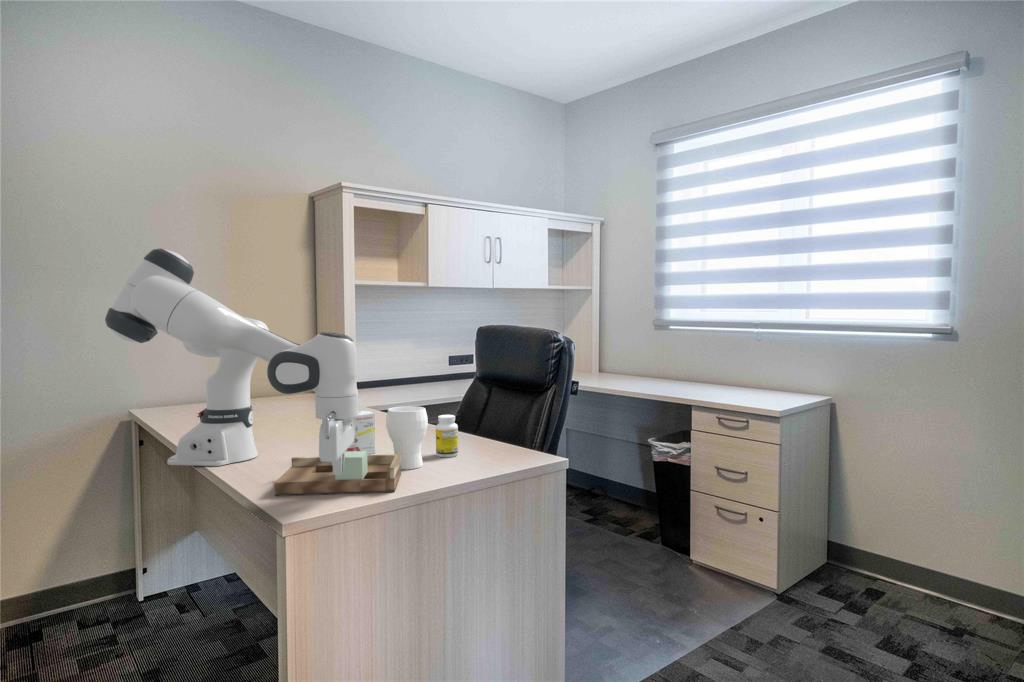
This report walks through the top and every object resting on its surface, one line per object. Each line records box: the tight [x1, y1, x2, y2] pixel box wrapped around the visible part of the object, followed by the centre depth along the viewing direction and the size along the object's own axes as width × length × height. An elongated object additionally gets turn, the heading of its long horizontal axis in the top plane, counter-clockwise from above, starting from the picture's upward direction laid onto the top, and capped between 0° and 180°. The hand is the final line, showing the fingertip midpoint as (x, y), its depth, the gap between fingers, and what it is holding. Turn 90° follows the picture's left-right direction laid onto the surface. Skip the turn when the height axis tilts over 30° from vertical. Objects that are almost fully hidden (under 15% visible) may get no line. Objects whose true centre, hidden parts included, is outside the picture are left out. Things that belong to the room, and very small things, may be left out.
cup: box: [385, 405, 429, 470], centre depth 160 cm, size 11×11×15 cm
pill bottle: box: [435, 414, 459, 458], centre depth 172 cm, size 6×6×11 cm
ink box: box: [346, 410, 377, 455], centre depth 173 cm, size 9×5×12 cm, turn 131°
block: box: [335, 451, 368, 480], centre depth 139 cm, size 6×6×5 cm
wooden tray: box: [273, 453, 402, 497], centre depth 143 cm, size 26×15×6 cm, turn 95°
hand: (338, 472), depth 132 cm, fingers closed
